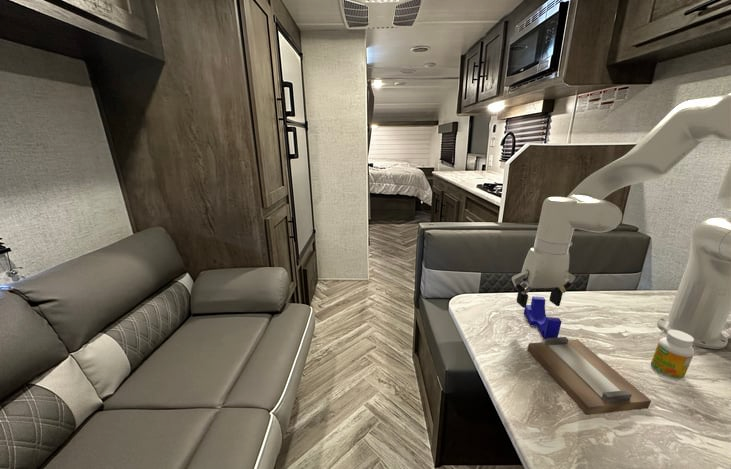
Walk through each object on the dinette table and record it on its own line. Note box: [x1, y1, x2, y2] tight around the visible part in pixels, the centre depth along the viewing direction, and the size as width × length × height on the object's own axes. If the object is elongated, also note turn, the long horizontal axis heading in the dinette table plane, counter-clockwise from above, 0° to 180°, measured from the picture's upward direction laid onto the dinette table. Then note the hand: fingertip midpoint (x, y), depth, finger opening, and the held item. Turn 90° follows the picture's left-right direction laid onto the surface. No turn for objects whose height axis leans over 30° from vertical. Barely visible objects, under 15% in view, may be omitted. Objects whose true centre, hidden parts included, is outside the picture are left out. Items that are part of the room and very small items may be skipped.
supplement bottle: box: [650, 330, 695, 381], centre depth 64 cm, size 5×5×10 cm
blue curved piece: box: [523, 296, 563, 340], centre depth 81 cm, size 12×4×6 cm, turn 169°
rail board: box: [527, 336, 652, 416], centre depth 64 cm, size 13×18×4 cm
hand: (537, 304), depth 79 cm, fingers open, 9 cm apart
